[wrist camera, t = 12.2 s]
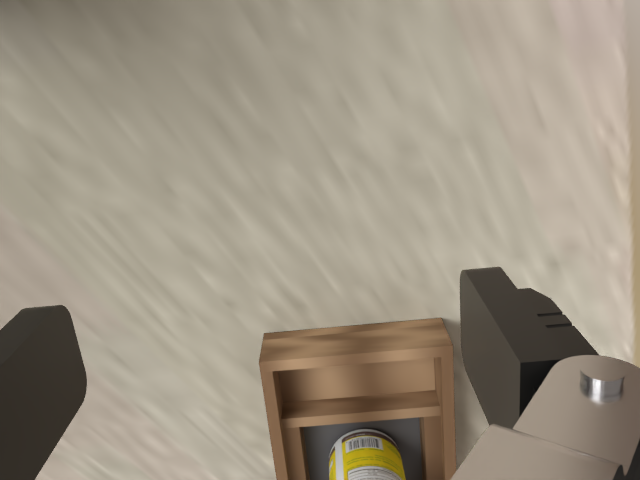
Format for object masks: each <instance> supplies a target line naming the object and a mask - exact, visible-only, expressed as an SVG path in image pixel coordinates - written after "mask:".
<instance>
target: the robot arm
mask: <svg viewBox="0 0 640 480" xmlns="http://www.w3.org/2000/svg"><path fill="white" fill-rule="evenodd" d="M460 317H461V348H462V356H463V361H464V366H465V369H466V372H467V374H468V377H469V379H470V381H471V384H472V386H473V388H474V391H475V393H476V395H477V398H478V400H479V402H480V404H481V407H482V409H483V411H484V414H485V416H486V418H487V421H488V423H489V425H490V426H489V427H488V428H487V429H486V430H485V431H484V433H483V434H482V436H481V437H480V438H479V440H478V441H477V443H476V444H475V446H474V447H473V448H472V450H471V451H470V453H469V454H468V455H467V457H466V458H465V460H464V461H463V462H462V464H461V465H460V467H459V468H458V470H457V471H456V472H455V474H454V475H453V477H452V478H451V479H450V480H640V368H638V367H637V366H635V365H633V364H630V363H628V362H625V361H623V360H619V359H616V358H612V357H606V356H600V355H599V354H598V353H597V352H596V351H595V350H594V348H593V347H592V346H591V345H590V344H589V343H588V341H587V340H586V339H585V338H584V337H583V336H582V335H581V333H580V332H579V331H578V330H577V329H576V328H575V326H572V323H571V322H570V321H569V319H568V318H567V317H566V316H565V315H562V311H561V310H560V309H559V308H558V307H557V305H556V304H555V303H554V302H553V301H552V300H551V299H550V298H548V297H546V296H544V295H543V294H541V293H539V292H537V291H535V290H533V289H531V288H526V289H517V288H516V287H515V285H514V284H513V283H512V281H511V280H510V279H509V277H508V276H507V275H506V274H505V272H504V271H503V270H502V268H501V267H492V268H481V269H470V270H462V272H461V275H460ZM86 387H87V378H86V372H85V368H84V364H83V360H82V356H81V352H80V349H79V345H78V341H77V337H76V333H75V330H74V326H73V322H72V318H71V315H70V313H69V311H68V309H67V308H66V307H65V306H63V305H56V306H45V307H34V308H25V309H22V310H21V311H20V312H19V313H18V314H17V315H16V316H15V317H14V318H13V319H12V320H10V321H9V322H8V323H7V324H6V325H5V326H4V327H3V328H2V329H1V330H0V480H35V478H36V477H37V475H38V473H39V472H40V470H41V469H42V467H43V465H44V464H45V462H46V461H47V459H48V457H49V456H50V454H51V453H52V451H53V449H54V448H55V446H56V445H57V443H58V441H59V440H60V438H61V437H62V435H63V434H64V432H65V430H66V429H67V427H68V426H69V424H70V422H71V421H72V419H73V418H74V416H75V414H76V413H77V411H78V410H79V408H80V406H81V405H82V403H83V401H84V398H85V394H86Z"/></svg>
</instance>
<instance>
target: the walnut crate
mask: <svg viewBox="0 0 640 480" xmlns="http://www.w3.org/2000/svg"><path fill="white" fill-rule="evenodd" d="M259 366H260V372H261V379H262V386H263V392H264V399H265V405H266V412H267V419H268V425H269V432H270V439H271V445H272V452H273V458H274V465H275V472H276V478H277V480H329V456H330V452H331V449H332V447H333V446H334V444H335V443H336V441H337V440H338V439H339V438H341V437H342V436H343V435H345V434H347V433H349V432H351V431H354V430H358V429H373V430H377V431H380V432H382V433H384V434H386V435H388V436H389V437H390V438H391V439H392V440H393V441H394V442H395V443H396V445H397V447H398V449H399V451H400V454H401V458H402V464H403V469H404V474H405V479H406V480H450V479H451V478H452V477H453V475H454V474H455V472H456V448H455V409H454V370H453V345H452V342H451V340H450V337H449V335H448V333H447V330H446V328H445V326H444V323H443V321H442V318H435V319H423V320H412V321H400V322H389V323H377V324H366V325H355V326H343V327H332V328H320V329H309V330H297V331H286V332H274V333H264V337H263V343H262V348H261V354H260V359H259Z"/></svg>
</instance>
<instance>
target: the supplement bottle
mask: <svg viewBox="0 0 640 480" xmlns="http://www.w3.org/2000/svg"><path fill="white" fill-rule="evenodd" d="M329 480H406V479H405V474H404V469H403V464H402V458H401V454H400V451H399V449H398V447H397V445H396V443H395V442H394V441H393V440H392V439H391V438H390V437H389V436H388V435H386V434H384V433H382V432H380V431H377V430H373V429H358V430H354V431H351V432H349V433H347V434H345V435H343V436H342V437H341V438H339V439H338V440H337V441H336V443H335V444H334V446H333V447H332V449H331V452H330V456H329Z"/></svg>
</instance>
